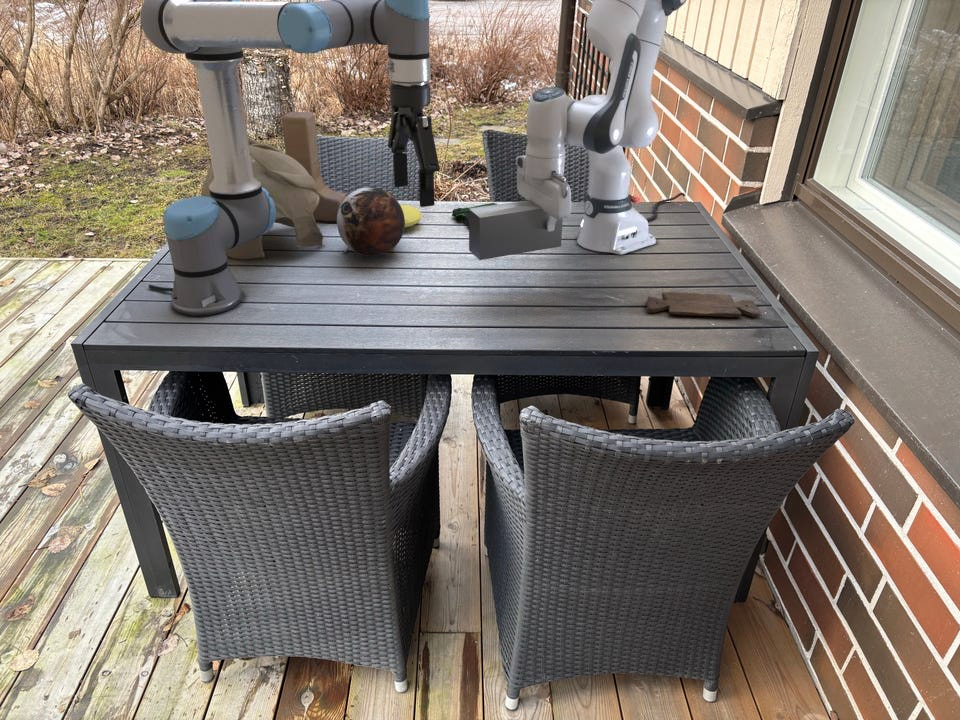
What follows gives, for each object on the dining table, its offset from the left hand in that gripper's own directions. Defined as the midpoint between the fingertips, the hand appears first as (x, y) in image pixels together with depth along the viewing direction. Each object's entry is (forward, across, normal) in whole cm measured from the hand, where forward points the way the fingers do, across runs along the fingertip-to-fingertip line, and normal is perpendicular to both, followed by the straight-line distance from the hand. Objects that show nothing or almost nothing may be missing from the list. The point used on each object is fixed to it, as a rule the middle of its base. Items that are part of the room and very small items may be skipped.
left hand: (413, 195), depth 142 cm
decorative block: (+30, -78, 0) cm, 83 cm away
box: (+18, -7, +28) cm, 34 cm away
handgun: (+30, -56, +43) cm, 77 cm away
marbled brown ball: (+30, -45, +5) cm, 54 cm away
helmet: (+30, -62, -19) cm, 71 cm away
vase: (+30, -63, +18) cm, 72 cm away
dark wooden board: (+30, +19, +63) cm, 73 cm away
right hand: (+13, -7, +34) cm, 38 cm away
